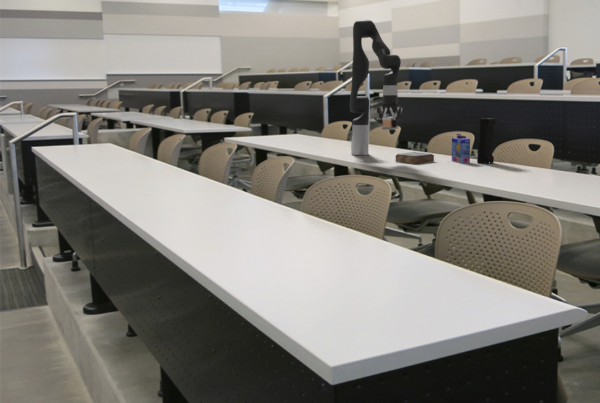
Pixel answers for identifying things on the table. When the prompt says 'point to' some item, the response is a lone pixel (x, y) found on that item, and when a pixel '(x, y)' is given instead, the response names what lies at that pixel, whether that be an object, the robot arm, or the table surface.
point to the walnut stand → (414, 157)
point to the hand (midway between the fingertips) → (390, 127)
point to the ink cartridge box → (461, 149)
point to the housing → (388, 123)
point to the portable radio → (485, 140)
